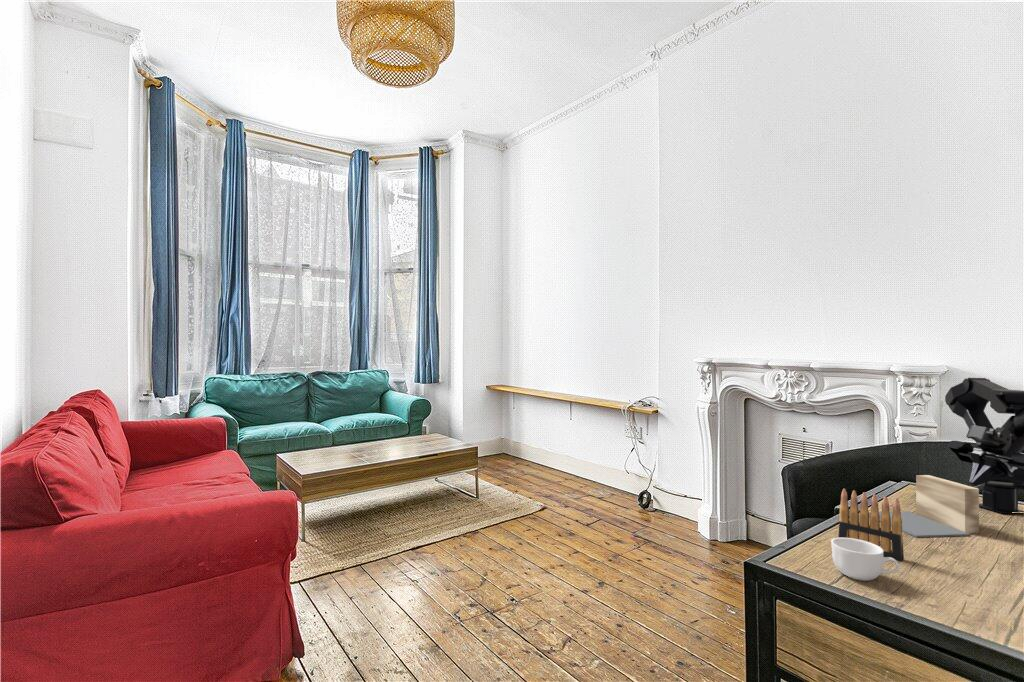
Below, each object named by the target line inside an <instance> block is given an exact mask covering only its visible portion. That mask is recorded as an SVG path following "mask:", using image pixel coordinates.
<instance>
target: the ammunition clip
mask: <svg viewBox="0 0 1024 682" xmlns="http://www.w3.org/2000/svg"><path fill="white" fill-rule="evenodd" d="M848 500H849V498H848V492H847V490H846V488H843V489H842V491H841V495H840V506H839V522H838V523H839V524H838V537H837V538H841V537H842V538H853V539H859V540H863V541H867V542H870V543H873V544H875V545H877V546H879V547H881V548H882V549H883V551H884V552H883V557H891V558H893V559H895V560H896V561H897V562H900V563H902V562H903V561H904V560H905V556H904V541H903V532H902V519H901V512H902V511H901V503H900V500H899V498H898V497H895V499H894V501H893V506H892V512H893V516H892V527H891V518H890V512H891V511H890V503H889V502H890V501H889V500H888V497H887V496H886V495H885V496H884V497H883V499H882V501H881V502H882V503H881V512H882V513H881V522H880V516H879V512H880V511H879V501H878V497H877V495H876V493H873V495H872V498H871V502H870V504H871V505H870V512H869V503H868V502H869V501H868V500H869V499H868V495H867V494H866V492H865V491H864V492H862V495H861V498H860V510H859V505H858V503H859V502H858V494H857V491H856V490H855V489H854V490H852V493H851V496H850V506H849V501H848ZM869 513H870V518H869Z"/></svg>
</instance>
